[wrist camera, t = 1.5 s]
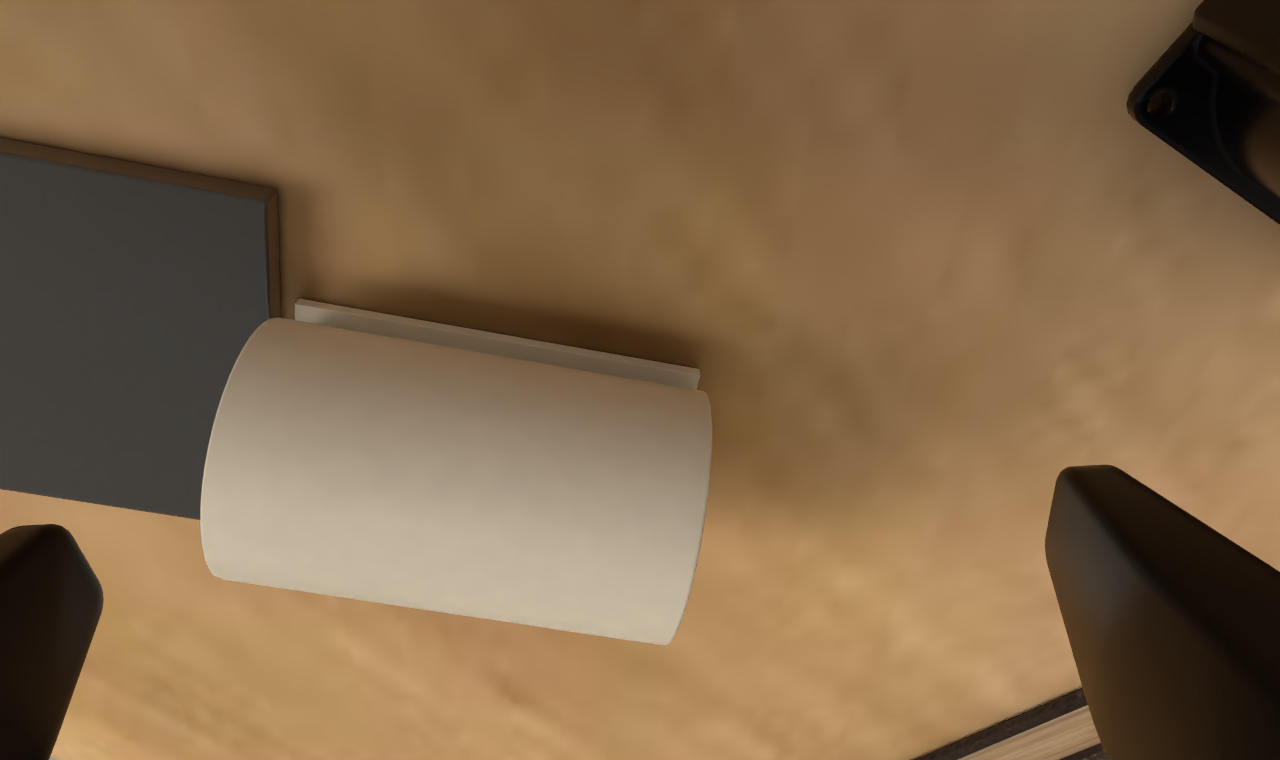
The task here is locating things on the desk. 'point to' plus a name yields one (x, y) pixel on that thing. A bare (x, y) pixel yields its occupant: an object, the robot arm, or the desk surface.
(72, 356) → the slate coaster
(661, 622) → the cylinder
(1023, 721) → the hardcover book
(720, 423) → the desk surface
